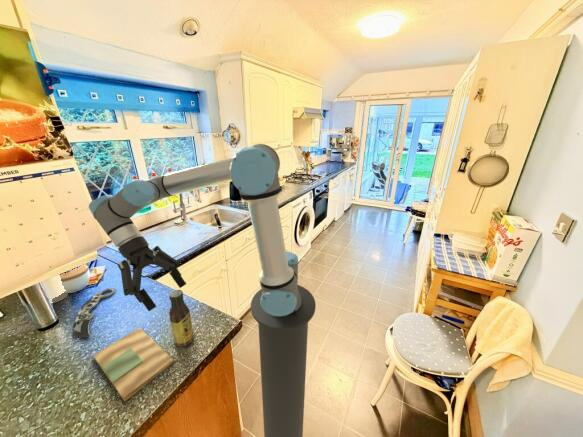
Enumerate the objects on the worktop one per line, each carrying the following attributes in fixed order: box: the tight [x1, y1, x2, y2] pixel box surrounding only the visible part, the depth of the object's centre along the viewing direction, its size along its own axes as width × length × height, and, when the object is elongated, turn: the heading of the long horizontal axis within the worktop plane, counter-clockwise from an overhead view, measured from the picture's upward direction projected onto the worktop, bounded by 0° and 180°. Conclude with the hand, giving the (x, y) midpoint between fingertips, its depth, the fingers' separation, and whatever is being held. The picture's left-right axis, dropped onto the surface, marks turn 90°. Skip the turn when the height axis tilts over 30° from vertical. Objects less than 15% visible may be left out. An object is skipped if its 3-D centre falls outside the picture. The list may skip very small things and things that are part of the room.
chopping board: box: [93, 327, 174, 402], centre depth 75 cm, size 22×14×2 cm, turn 55°
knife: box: [72, 287, 115, 338], centre depth 94 cm, size 28×2×10 cm
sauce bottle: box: [168, 289, 194, 348], centre depth 79 cm, size 6×6×20 cm
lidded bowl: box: [60, 263, 91, 294], centre depth 106 cm, size 13×13×11 cm
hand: (169, 296), depth 75 cm, fingers open, 13 cm apart
